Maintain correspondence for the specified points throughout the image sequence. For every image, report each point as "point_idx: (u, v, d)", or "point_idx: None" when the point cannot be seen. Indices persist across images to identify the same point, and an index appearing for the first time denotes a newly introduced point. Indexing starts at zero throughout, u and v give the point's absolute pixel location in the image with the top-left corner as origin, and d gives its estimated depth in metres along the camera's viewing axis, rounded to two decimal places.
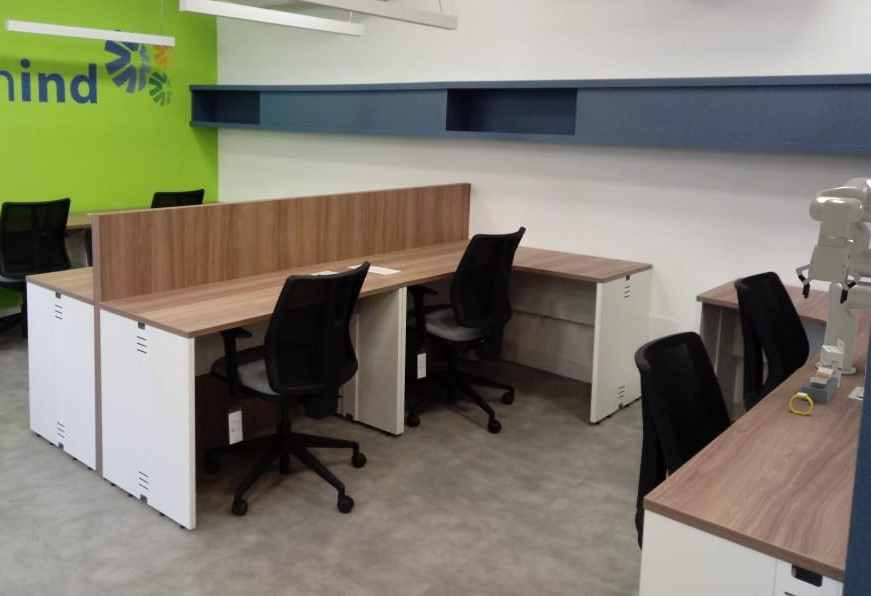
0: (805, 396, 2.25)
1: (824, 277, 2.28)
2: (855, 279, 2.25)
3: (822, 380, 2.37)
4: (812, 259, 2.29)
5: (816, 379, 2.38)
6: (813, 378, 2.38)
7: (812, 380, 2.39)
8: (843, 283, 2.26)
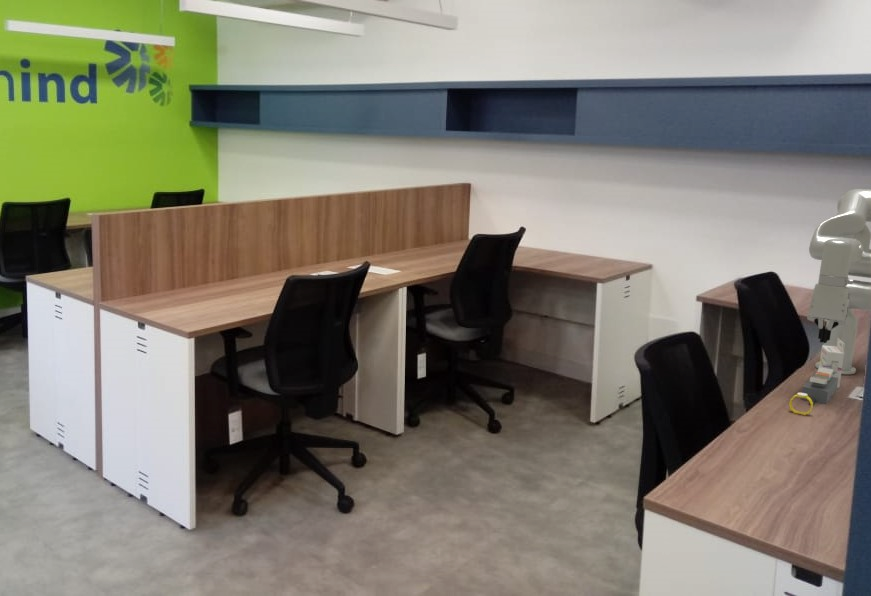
0: (805, 396, 2.25)
1: (825, 315, 2.33)
2: (840, 322, 2.32)
3: (822, 380, 2.37)
4: (813, 297, 2.34)
5: (816, 379, 2.38)
6: (813, 378, 2.38)
7: (812, 380, 2.39)
8: (831, 323, 2.33)
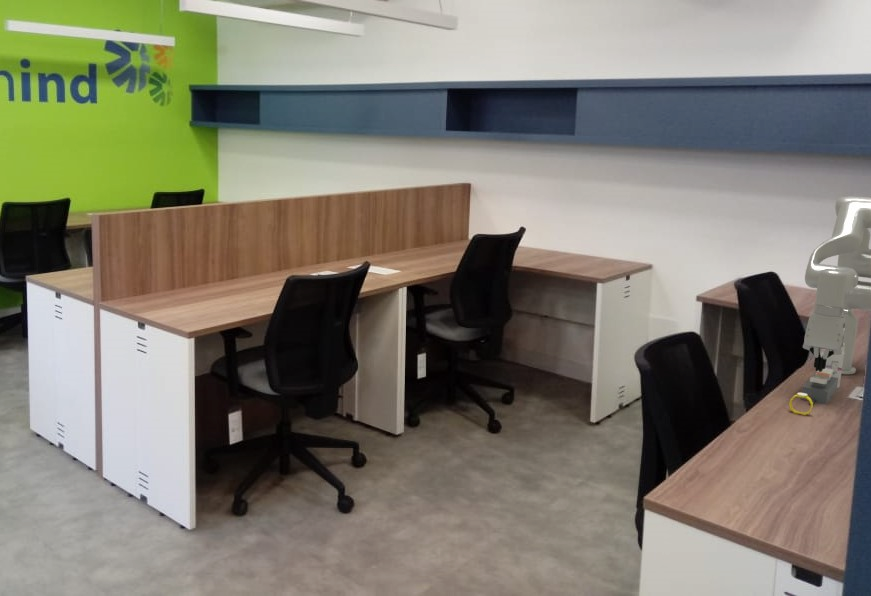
0: (805, 396, 2.25)
1: (820, 344, 2.34)
2: (836, 351, 2.33)
3: (822, 380, 2.37)
4: (808, 326, 2.36)
5: (816, 379, 2.38)
6: (813, 378, 2.38)
7: (812, 380, 2.39)
8: (826, 352, 2.34)
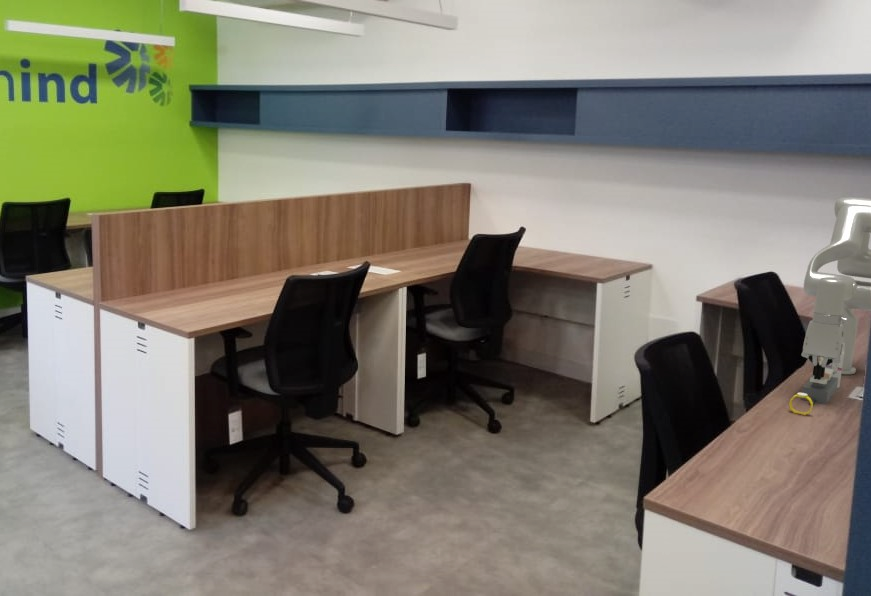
0: (805, 396, 2.25)
1: (819, 352, 2.35)
2: (834, 360, 2.34)
3: (822, 380, 2.37)
4: (807, 335, 2.36)
5: (816, 379, 2.38)
6: (813, 378, 2.38)
7: (812, 380, 2.39)
8: (825, 360, 2.35)
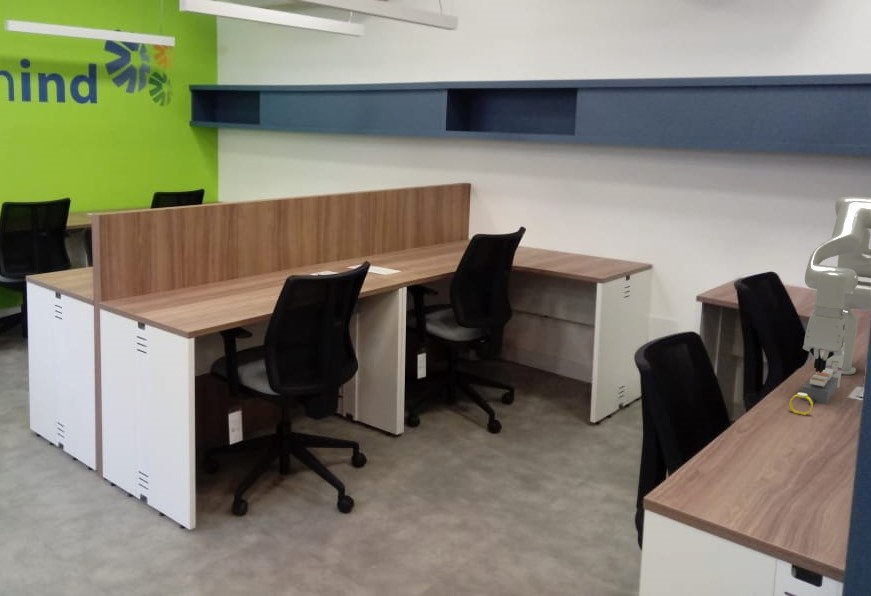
0: (805, 396, 2.25)
1: (820, 345, 2.35)
2: (836, 352, 2.34)
3: (822, 382, 2.37)
4: (808, 328, 2.36)
5: (816, 381, 2.38)
6: (813, 380, 2.38)
7: (812, 382, 2.39)
8: (826, 353, 2.35)
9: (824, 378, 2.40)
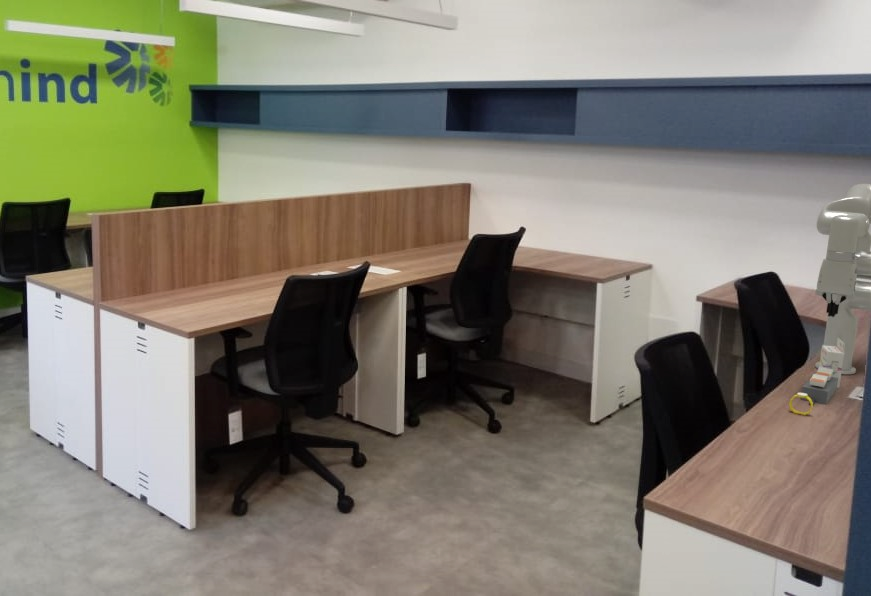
0: (805, 396, 2.25)
1: (832, 289, 2.38)
2: (848, 296, 2.37)
3: (821, 383, 2.37)
4: (821, 273, 2.39)
5: (815, 382, 2.38)
6: (812, 381, 2.38)
7: (812, 383, 2.39)
8: (839, 297, 2.38)
9: (824, 378, 2.40)
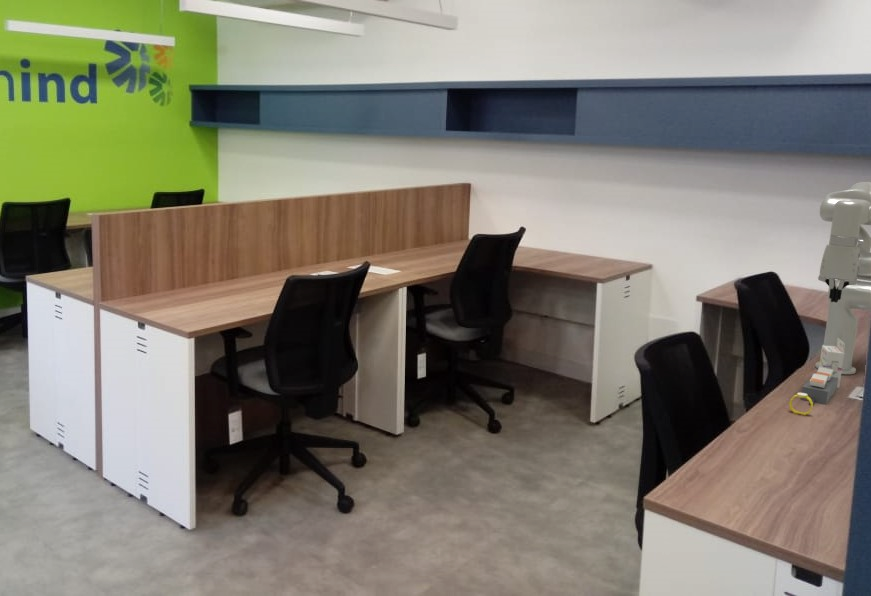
0: (805, 396, 2.25)
1: (835, 275, 2.38)
2: (851, 282, 2.37)
3: (821, 384, 2.37)
4: (824, 258, 2.39)
5: (815, 383, 2.38)
6: (812, 382, 2.38)
7: (811, 384, 2.39)
8: (842, 283, 2.38)
9: (824, 378, 2.40)
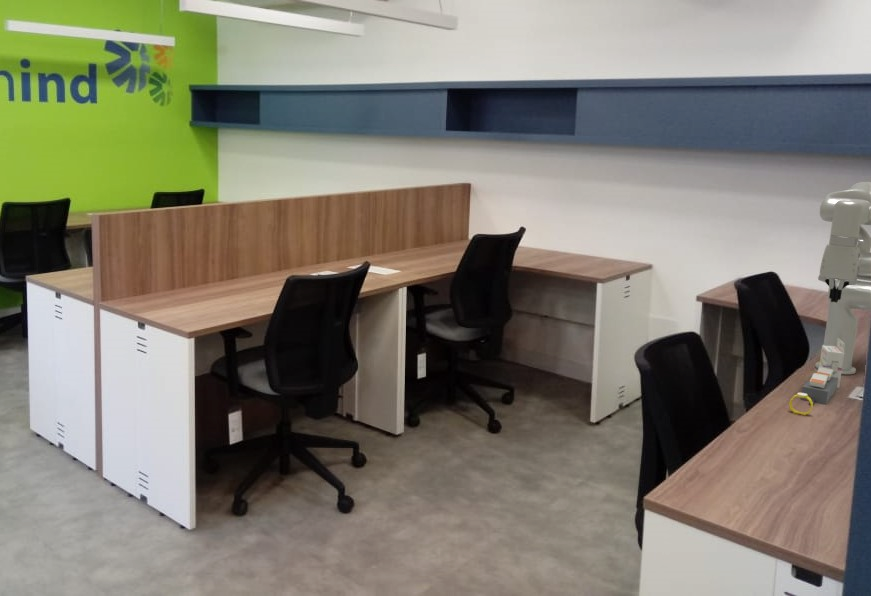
0: (805, 396, 2.25)
1: (835, 275, 2.38)
2: (851, 282, 2.37)
3: (821, 384, 2.37)
4: (824, 258, 2.39)
5: (815, 383, 2.38)
6: (812, 382, 2.38)
7: (811, 384, 2.39)
8: (842, 283, 2.38)
9: (824, 378, 2.39)
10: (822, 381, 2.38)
